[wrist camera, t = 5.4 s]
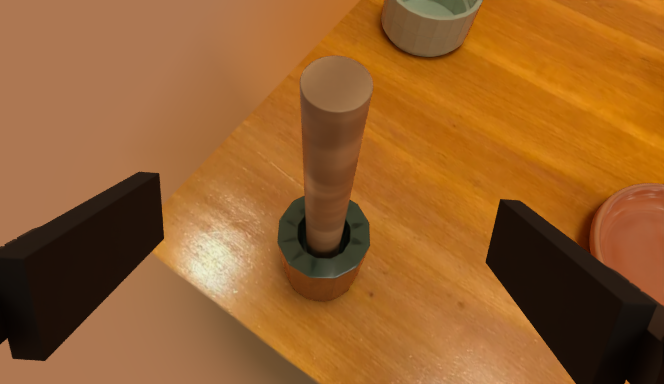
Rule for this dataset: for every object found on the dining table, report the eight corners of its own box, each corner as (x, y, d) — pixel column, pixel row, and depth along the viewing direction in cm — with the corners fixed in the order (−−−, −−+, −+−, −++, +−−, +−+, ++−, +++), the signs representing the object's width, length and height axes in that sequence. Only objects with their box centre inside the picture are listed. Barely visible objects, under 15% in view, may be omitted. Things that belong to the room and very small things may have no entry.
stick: (301, 268, 35) (285, 90, 13) (317, 244, 36) (324, 44, 14) (326, 283, 34) (350, 124, 13) (340, 259, 35) (386, 74, 14)
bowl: (365, 36, 49) (371, -6, 43) (403, -12, 53) (414, -55, 48) (444, 73, 47) (461, 33, 41) (477, 20, 51) (497, -22, 46)
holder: (271, 276, 35) (259, 246, 27) (310, 219, 37) (310, 176, 29) (333, 315, 34) (340, 296, 25) (369, 254, 36) (385, 219, 28)
